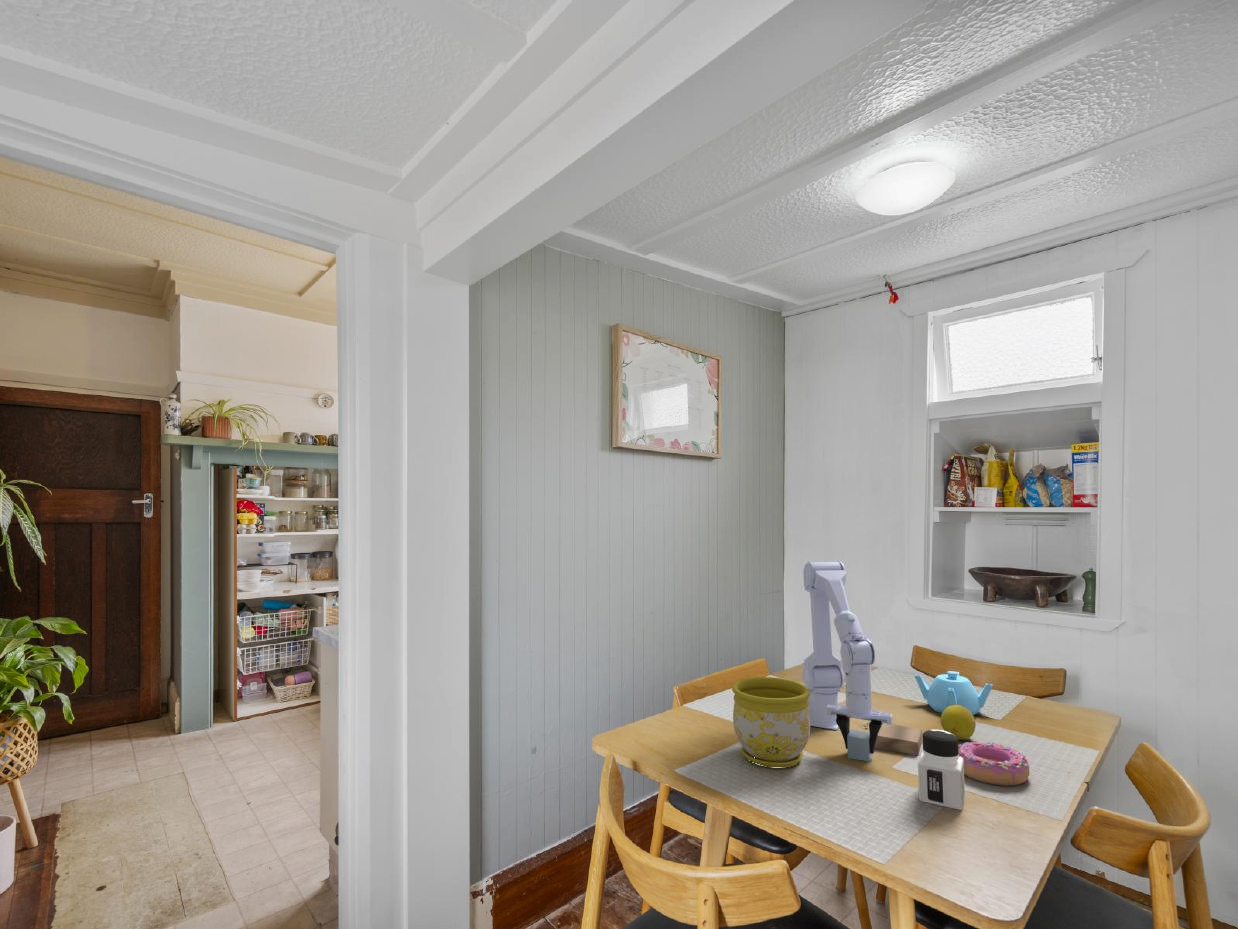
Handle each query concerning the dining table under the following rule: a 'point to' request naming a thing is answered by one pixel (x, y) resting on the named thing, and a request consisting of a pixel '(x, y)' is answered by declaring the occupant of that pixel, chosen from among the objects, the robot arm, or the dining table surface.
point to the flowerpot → (771, 720)
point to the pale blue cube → (859, 745)
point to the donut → (994, 763)
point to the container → (941, 770)
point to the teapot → (953, 692)
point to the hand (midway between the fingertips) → (860, 750)
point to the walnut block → (899, 739)
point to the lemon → (958, 722)
